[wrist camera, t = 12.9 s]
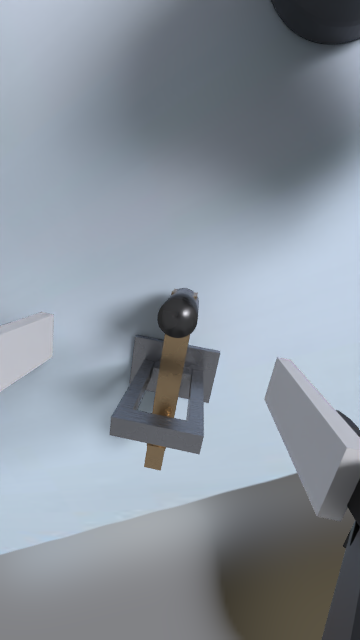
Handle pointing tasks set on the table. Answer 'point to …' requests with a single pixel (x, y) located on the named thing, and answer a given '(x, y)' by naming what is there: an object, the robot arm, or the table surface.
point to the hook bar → (172, 359)
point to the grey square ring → (145, 377)
